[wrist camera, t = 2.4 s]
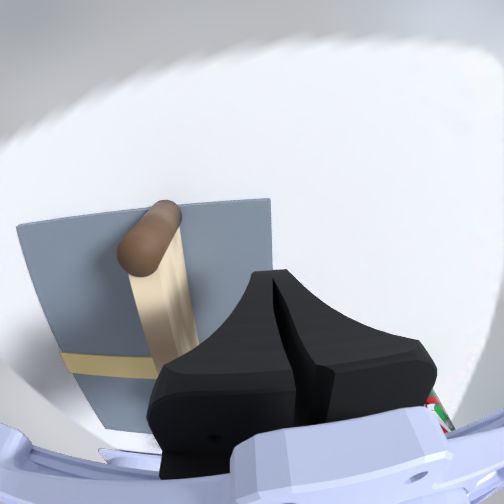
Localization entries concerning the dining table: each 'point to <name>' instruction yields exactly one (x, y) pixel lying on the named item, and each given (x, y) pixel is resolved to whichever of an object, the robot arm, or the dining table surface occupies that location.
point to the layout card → (122, 298)
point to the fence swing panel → (160, 282)
